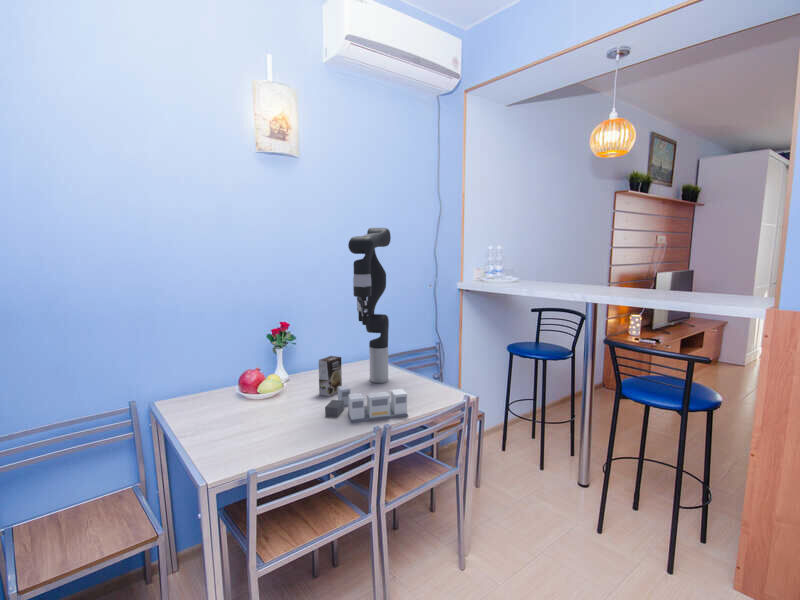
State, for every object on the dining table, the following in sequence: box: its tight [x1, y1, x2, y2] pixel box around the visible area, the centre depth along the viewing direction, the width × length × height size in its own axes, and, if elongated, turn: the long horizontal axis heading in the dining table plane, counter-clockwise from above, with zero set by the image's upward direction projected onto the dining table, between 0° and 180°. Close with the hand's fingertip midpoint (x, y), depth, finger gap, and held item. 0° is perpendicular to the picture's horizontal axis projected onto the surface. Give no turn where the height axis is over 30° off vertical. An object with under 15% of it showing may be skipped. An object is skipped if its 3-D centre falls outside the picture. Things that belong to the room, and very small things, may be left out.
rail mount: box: [347, 388, 409, 424], centre depth 163 cm, size 9×22×9 cm, turn 105°
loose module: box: [366, 391, 391, 418], centre depth 161 cm, size 5×8×8 cm, turn 106°
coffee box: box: [318, 355, 343, 397], centre depth 188 cm, size 9×6×16 cm
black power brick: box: [324, 399, 345, 418], centre depth 166 cm, size 8×5×4 cm, turn 169°
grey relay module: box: [337, 384, 351, 407], centre depth 175 cm, size 5×4×7 cm
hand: (363, 322), depth 176 cm, fingers open, 8 cm apart
